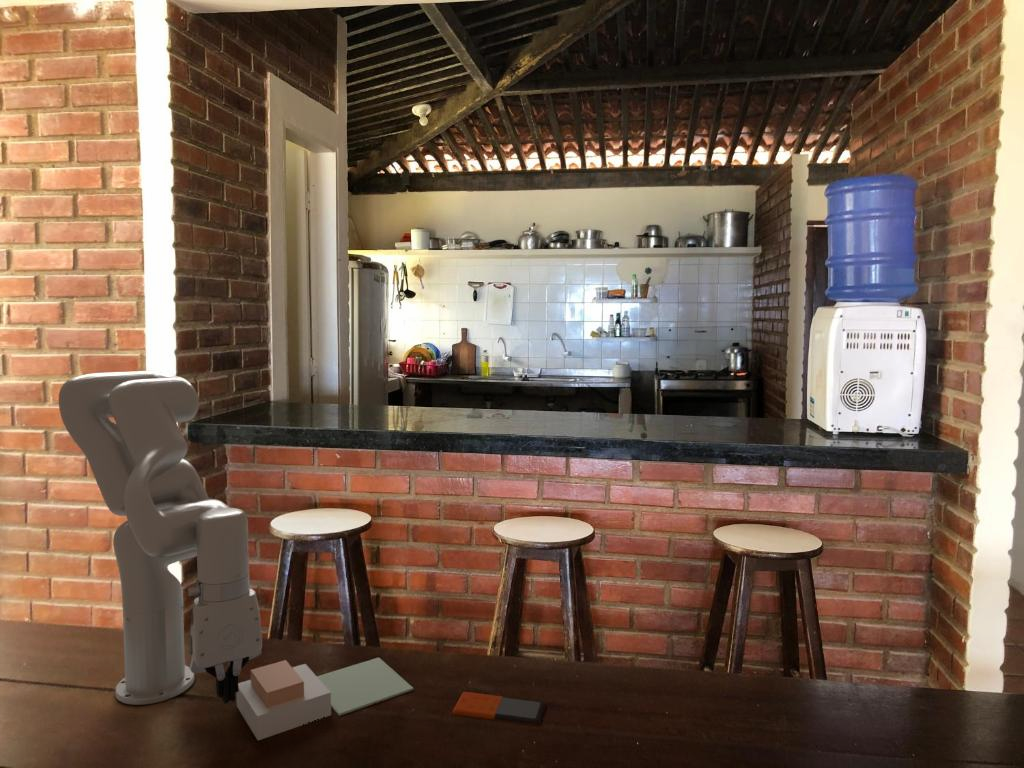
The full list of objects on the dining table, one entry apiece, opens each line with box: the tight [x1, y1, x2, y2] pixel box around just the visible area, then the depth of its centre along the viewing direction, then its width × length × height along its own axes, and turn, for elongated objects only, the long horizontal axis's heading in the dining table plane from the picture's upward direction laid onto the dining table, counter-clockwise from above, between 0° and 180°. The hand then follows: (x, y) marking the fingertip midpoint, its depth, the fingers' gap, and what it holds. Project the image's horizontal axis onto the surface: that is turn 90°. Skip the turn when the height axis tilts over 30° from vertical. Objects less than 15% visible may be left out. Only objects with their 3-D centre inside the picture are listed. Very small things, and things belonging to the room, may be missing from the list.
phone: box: [452, 691, 546, 726], centre depth 116 cm, size 6×1×15 cm
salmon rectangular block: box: [250, 659, 304, 708], centre depth 114 cm, size 9×6×2 cm, turn 37°
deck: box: [235, 663, 332, 741], centre depth 115 cm, size 12×12×4 cm
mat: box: [316, 657, 414, 717], centre depth 123 cm, size 14×14×1 cm
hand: (227, 698), depth 109 cm, fingers closed
